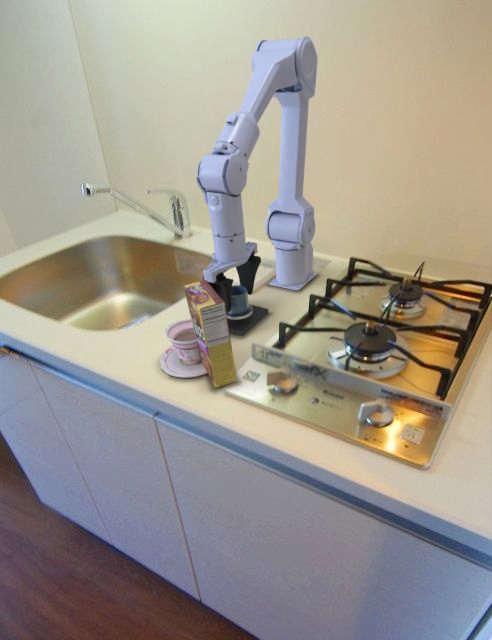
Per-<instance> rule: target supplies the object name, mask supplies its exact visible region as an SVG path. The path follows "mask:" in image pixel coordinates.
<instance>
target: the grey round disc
mask: <svg viewBox="0 0 492 640" xmlns="http://www.w3.org/2000/svg"><path fill="white" fill-rule="evenodd" d="M251 305H252V304H250V303H249V307H248V309H247V310H246V311H245V312H243V313H241V314H230V313H228V312H226V315H227V318H228V319H233V320H239V319H244V318H247V317H249V316H250V315H251V314H252V313H253V308H252V306H251Z"/></svg>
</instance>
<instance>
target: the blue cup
mask: <svg viewBox="0 0 492 640" xmlns="http://www.w3.org/2000/svg"><path fill="white" fill-rule="evenodd" d="M249 304H250V303H249V294H248V293H247V288H246V287H244V286H240V284H236V285H235V284H234V285H232V288H231V311H230V312H228V313H230V314H241V313H243V312H245V311H246V310H247V309H248V307H249Z"/></svg>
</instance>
